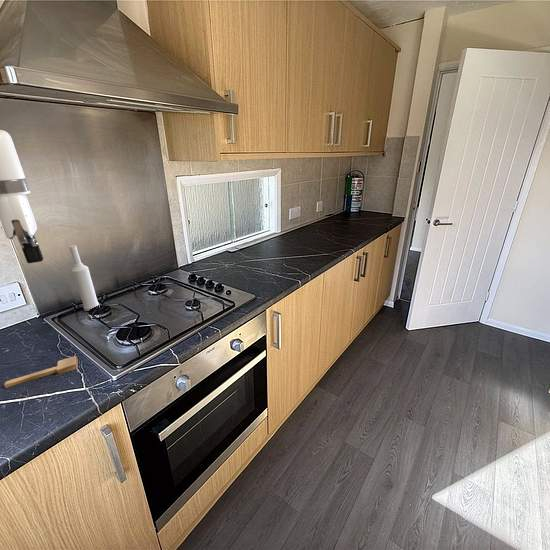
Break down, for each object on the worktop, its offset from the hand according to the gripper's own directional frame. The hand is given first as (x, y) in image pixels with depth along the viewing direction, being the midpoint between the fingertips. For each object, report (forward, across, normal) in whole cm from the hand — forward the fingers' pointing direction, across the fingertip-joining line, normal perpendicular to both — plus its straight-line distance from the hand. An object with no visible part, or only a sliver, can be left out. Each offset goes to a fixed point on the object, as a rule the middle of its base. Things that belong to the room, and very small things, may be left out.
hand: (35, 261), depth 76 cm
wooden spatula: (+29, +8, -6) cm, 31 cm away
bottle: (+29, -27, +6) cm, 40 cm away
